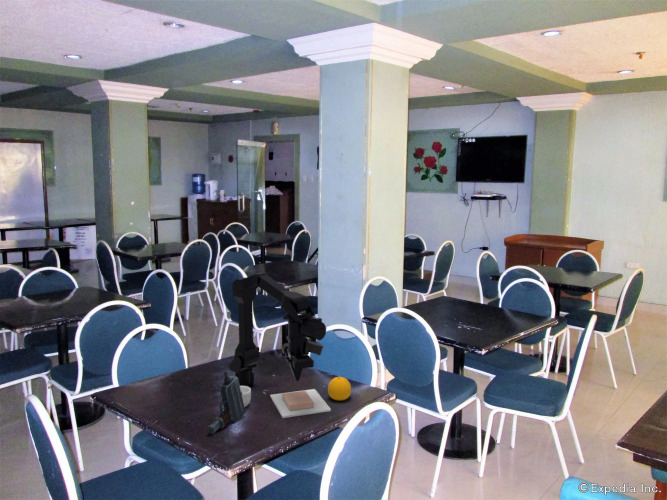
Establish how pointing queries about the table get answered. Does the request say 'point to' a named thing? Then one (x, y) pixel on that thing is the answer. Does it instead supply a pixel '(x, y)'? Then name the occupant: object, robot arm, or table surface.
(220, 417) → the gun
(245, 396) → the teacup
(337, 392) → the orange
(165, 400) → the table surface
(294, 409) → the tile
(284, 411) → the mat
